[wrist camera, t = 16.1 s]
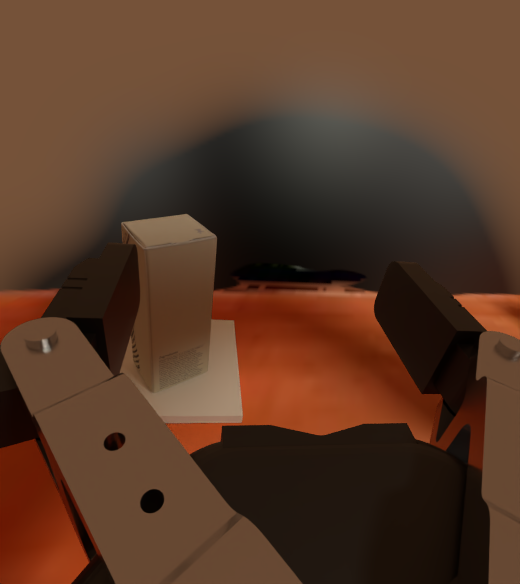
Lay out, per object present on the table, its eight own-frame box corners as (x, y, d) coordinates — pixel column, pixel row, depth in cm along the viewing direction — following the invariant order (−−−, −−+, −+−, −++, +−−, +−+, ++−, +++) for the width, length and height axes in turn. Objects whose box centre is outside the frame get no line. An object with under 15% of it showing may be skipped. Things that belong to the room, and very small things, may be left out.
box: (185, 343, 33) (191, 211, 26) (209, 374, 30) (222, 235, 23) (128, 362, 30) (118, 218, 23) (148, 398, 27) (144, 246, 20)
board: (233, 326, 37) (233, 320, 37) (241, 422, 27) (242, 415, 27) (113, 321, 35) (112, 315, 35) (75, 423, 25) (74, 416, 25)
